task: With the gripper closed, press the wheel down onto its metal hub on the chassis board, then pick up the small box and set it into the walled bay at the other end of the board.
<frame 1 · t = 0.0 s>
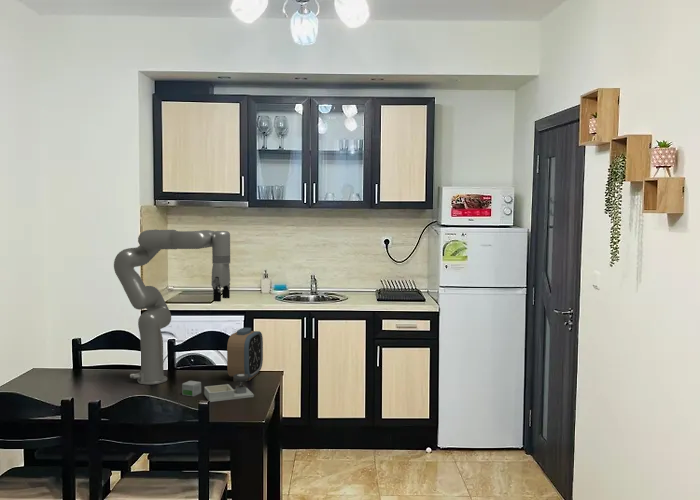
hand: (221, 299, 285), 37 cm above the table, tool pointing down, fingers open, 9 cm apart
small box: (191, 394, 275), on the table
alarm clock: (245, 377, 303), on the table
chassis: (228, 395, 272), on the table
wheel: (240, 380, 274), point 6 cm above the table, slide at 0.0 cm
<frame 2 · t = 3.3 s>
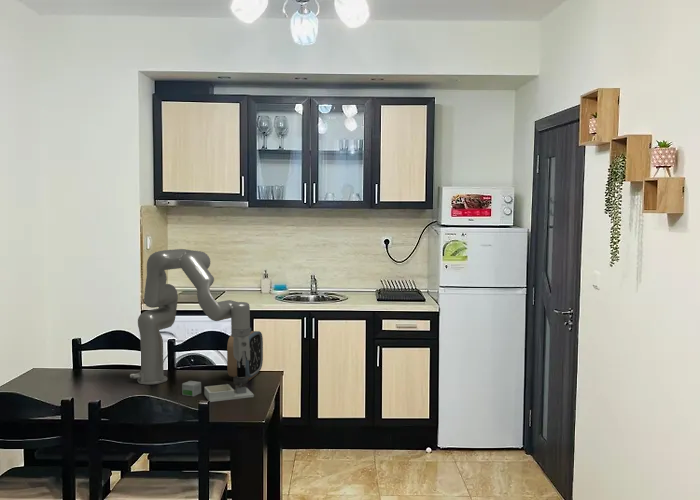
hand: (241, 376, 274), 8 cm above the table, tool pointing down, fingers closed
wheel: (240, 382, 274), point 5 cm above the table, slide at 0.7 cm, touching gripper
everything else where it was.
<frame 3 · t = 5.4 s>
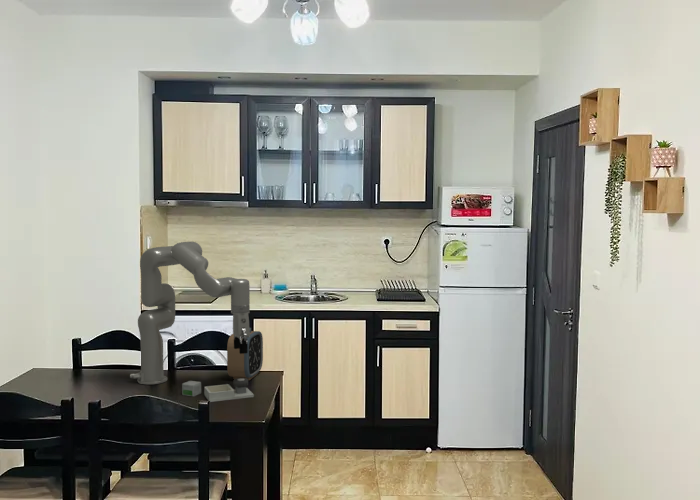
hand: (240, 350, 273), 18 cm above the table, tool pointing down, fingers open, 9 cm apart
wheel: (240, 385, 274), point 4 cm above the table, slide at 1.9 cm
everything else where it was.
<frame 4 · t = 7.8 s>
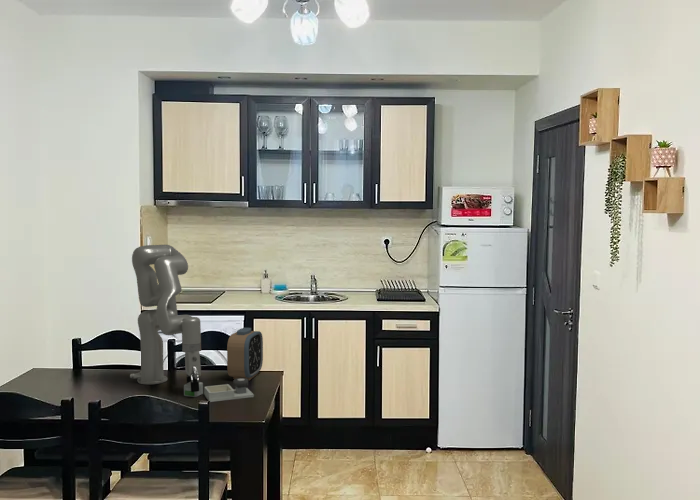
hand: (192, 388, 274), 2 cm above the table, tool pointing down, fingers open, 9 cm apart
small box: (193, 395, 274), on the table, touching gripper
everything else where it was.
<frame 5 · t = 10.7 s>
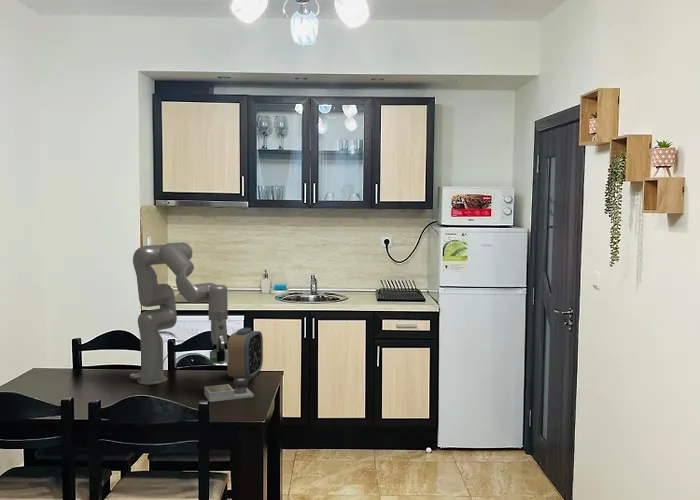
hand: (218, 358, 270), 16 cm above the table, tool pointing down, fingers closed on small box, 7 cm apart
small box: (219, 362, 270), point 14 cm above the table, touching gripper
everything else where it was.
when the fingers open (5 cm above the table, at t = 13.3 s): small box drops 2 cm, resting on chassis.
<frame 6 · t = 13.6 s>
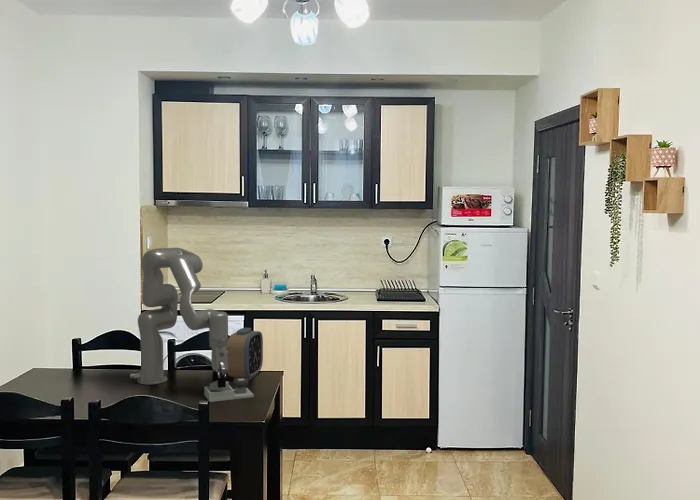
hand: (219, 384, 270), 5 cm above the table, tool pointing down, fingers open, 9 cm apart
small box: (219, 394, 271), point 1 cm above the table, touching chassis
everything else where it was.
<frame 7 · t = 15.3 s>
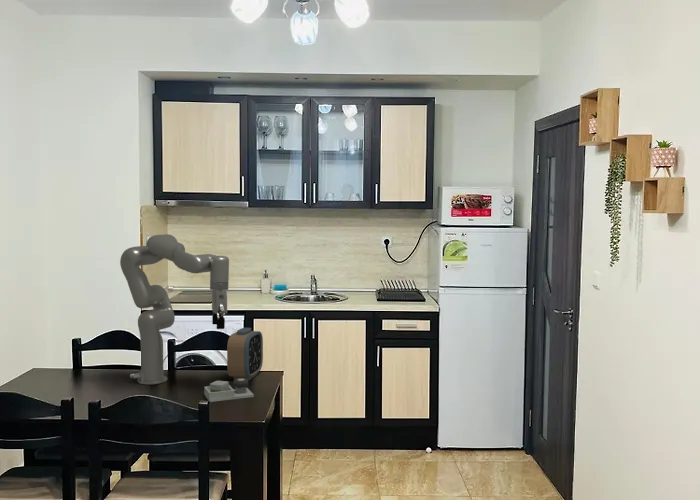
hand: (218, 326, 278), 27 cm above the table, tool pointing down, fingers open, 9 cm apart
nothing on the table moved.
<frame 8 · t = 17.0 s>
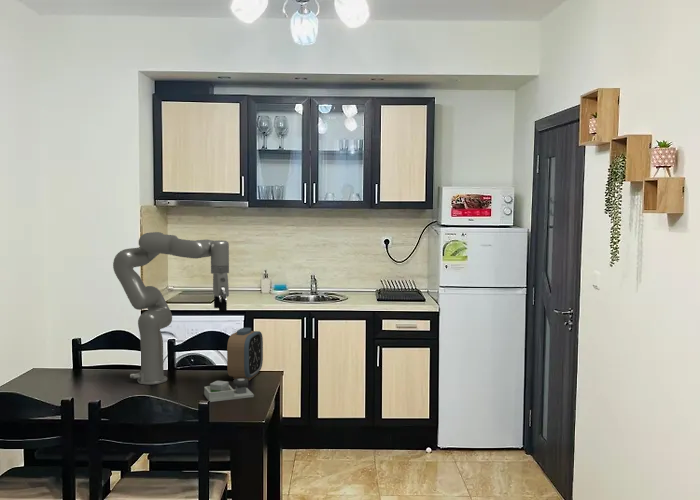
hand: (220, 309, 284), 33 cm above the table, tool pointing down, fingers open, 9 cm apart
nothing on the table moved.
at the end: small box 0.1 cm from the target spot on the chassis, point 0.9 cm above the chassis's base; wheel slide at 1.9 cm; the gripper is holding nothing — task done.
